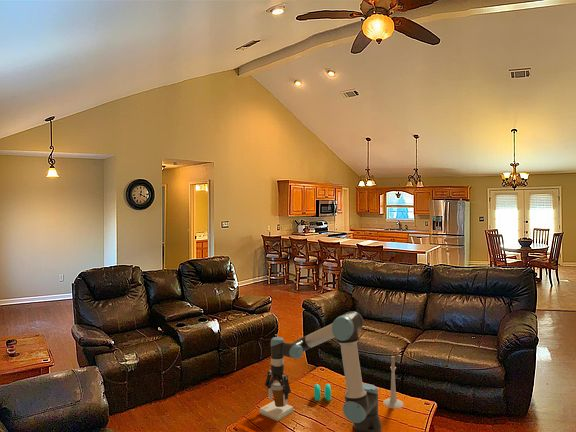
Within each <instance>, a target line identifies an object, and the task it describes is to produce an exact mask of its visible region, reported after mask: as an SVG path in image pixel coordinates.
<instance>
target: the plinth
mask: <svg viewBox="0 0 576 432" xmlns="http://www.w3.org/2000/svg"><path fill="white" fill-rule="evenodd" d="M293 412H294V406H292V405H290V404H288V403H287V404H286V405H285V406H283V407H276V406H275V402H274V400H272V401H271V402H269V403H267V404H266V405H264V406H262V407H260V408H259V414H260V415H262V416H264V417H267V418H269V419H271V420H274V421H277V422H279V421H281V420H282V419H284V418H285V417H287V416H288V415H291V414H292V413H293Z"/></svg>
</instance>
